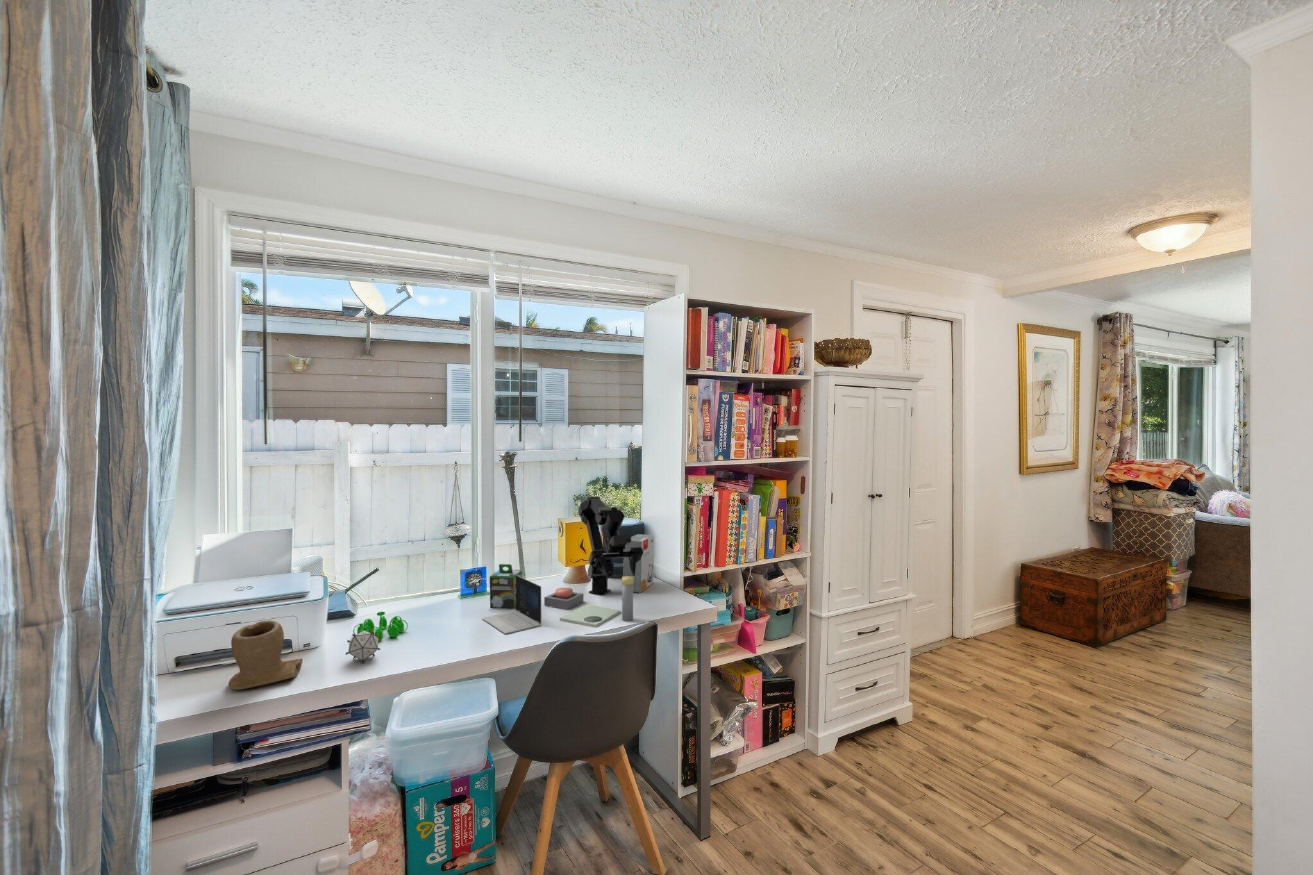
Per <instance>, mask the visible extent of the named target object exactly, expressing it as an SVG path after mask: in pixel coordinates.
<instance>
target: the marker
mask: <svg viewBox="0 0 1313 875" xmlns="http://www.w3.org/2000/svg"><path fill="white" fill-rule="evenodd" d="M621 584H622V586H621V589H622V590H621V592H622V593H621V602H622V603H621V604H622V605H621V607H622V608H621V620H622V621H623V622H632V621H633V620H634V592H633V577H632V576H624V577H623V576H622V577H621Z"/></svg>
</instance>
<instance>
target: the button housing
mask: <svg viewBox="0 0 1313 875" xmlns="http://www.w3.org/2000/svg"><path fill="white" fill-rule="evenodd" d="M543 599H544V600H543V601H544V602H543V605H545V607H549V606H552V607H551V608H555V609H561V610H568V611H569V610H570V609H572V608H574V607H576V606H578V605H580V604H581V603H582V604H583V603H584V593H583V592H575V591H573V595H572V597H571V598H568V599H561V598H556V591H554V592H553V593H551V594H549V595H546V596H544V598H543Z"/></svg>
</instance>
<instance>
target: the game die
mask: <svg viewBox="0 0 1313 875" xmlns="http://www.w3.org/2000/svg"><path fill="white" fill-rule="evenodd" d="M365 629H366V628H365V627H364V628H363V630H364V631H362V632H360V633H358V634H357V633H356V635H354V633H352V634H351V636H352V638H351V640H349V639H348V640H346V642H347V643H348V650H347V652H345V655H346V656H347V655H351V656H353V657H352V658H353V660H355V659H358V660H360V661H361V664H362V663H363V664H364V663H365V660H367V659H369V658H370V657H372V656H373V657H375V656H376V654H375V653H376V652H377V651H380V650H381V648H380V647H379V642H378V639H380V638H381V636H380V637H377V636H375V631H374V632H372V633H370V631H369V632H368V631H365ZM354 658H355V659H354Z"/></svg>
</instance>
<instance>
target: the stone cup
mask: <svg viewBox="0 0 1313 875" xmlns="http://www.w3.org/2000/svg"><path fill="white" fill-rule="evenodd" d="M284 640H285V633H284V630H283V627H282V624H280V623H279V622H278V621H276V620H261V621H258V622H256V623H254V624H249V625H245V626H243V627H240V628H239V629H238V630H237V631H236V632H234V634H233V635H232V637H231V642H230V644H231V651H232V656H233V658H234V660H235V662H236V664H237V667H238V668H239V672H237V673H235V674H234V675H233V676H232V677H231V678H230V680H228V687H229V688H230V689H231V690H236V691H239V690H244V689H250V688H251V689H252V688H257V687H260V686H264V685H270V684H273V683H278V682H282V681H286V680H289V679H293V678H296V677H297V676H298V674H299V672H300V671H301V668H302V664H303V658H302V657H301V658H295V659H291V660H285V661H282V659H281V658H282V657H281V656H282V651H283V646H284Z"/></svg>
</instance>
